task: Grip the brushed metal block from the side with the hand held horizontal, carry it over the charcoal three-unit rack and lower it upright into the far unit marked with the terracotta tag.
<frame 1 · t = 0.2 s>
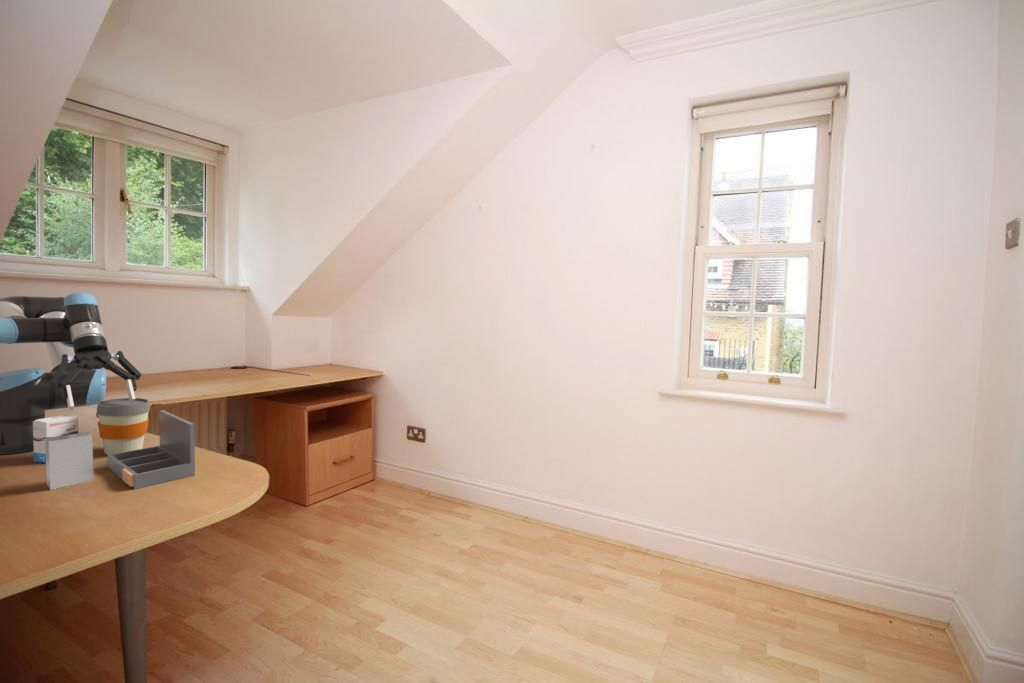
hand: (103, 404, 137), 16 cm above the table, tool tilted 35°, fingers open, 13 cm apart
reusable coffee cup: (123, 451, 145), on the table, touching gripper
ink box: (57, 459, 136), on the table
rack: (148, 471, 129), on the table
brushed metal block: (70, 483, 119), on the table
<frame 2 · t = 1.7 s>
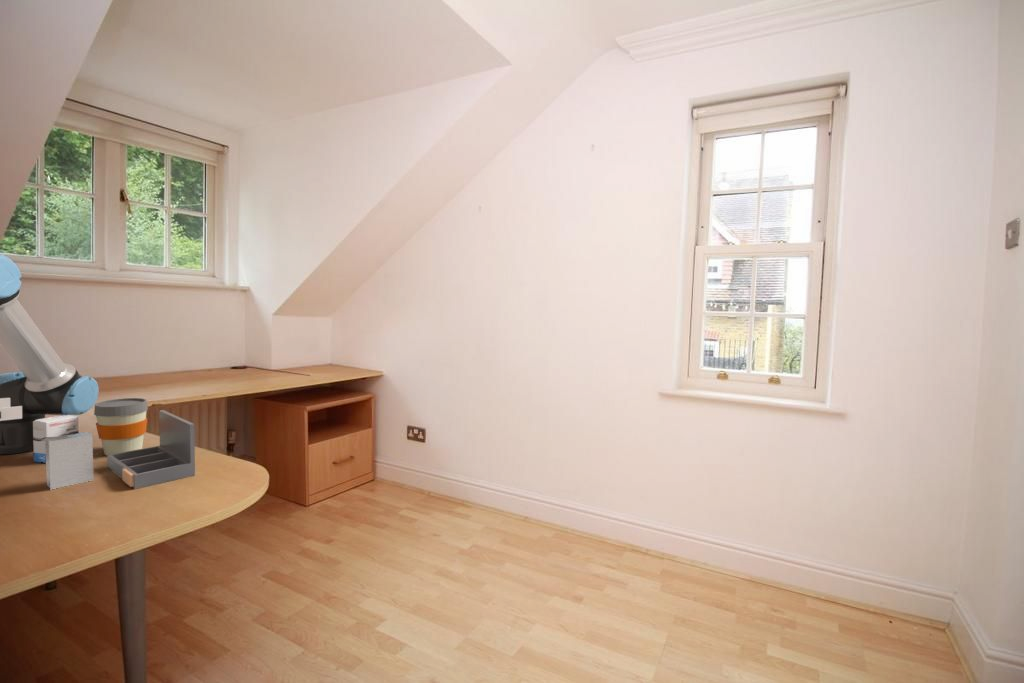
hand: (16, 407, 111), 21 cm above the table, tool horizontal, fingers open, 13 cm apart
reusable coffee cup: (123, 451, 145), on the table
everything else where it was.
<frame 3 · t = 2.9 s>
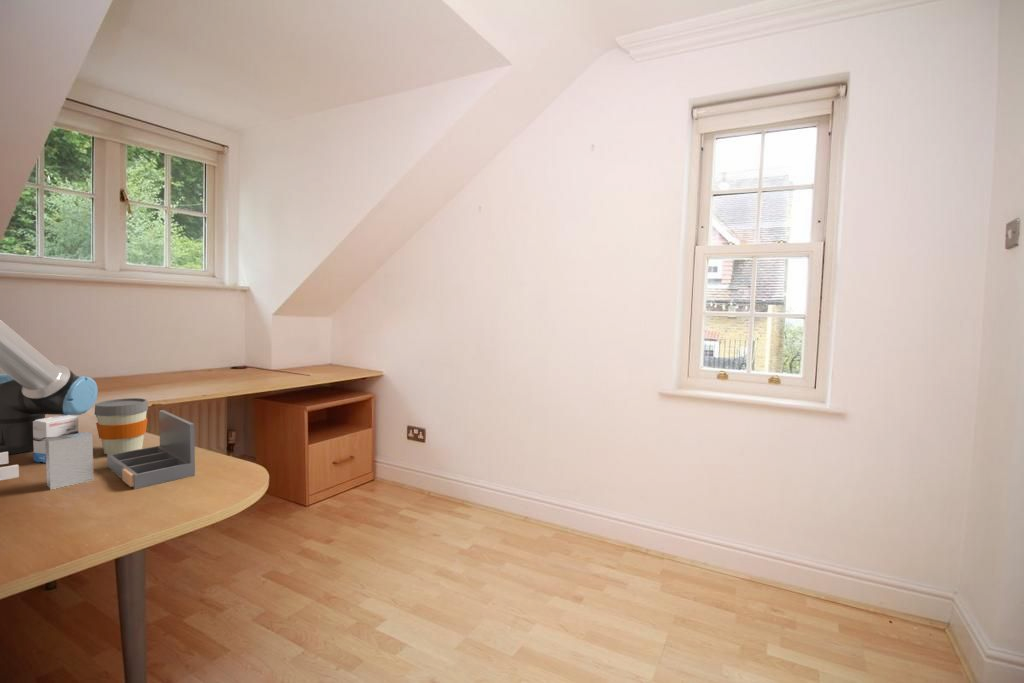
hand: (13, 463, 111), 7 cm above the table, tool horizontal, fingers open, 13 cm apart
nothing on the table moved.
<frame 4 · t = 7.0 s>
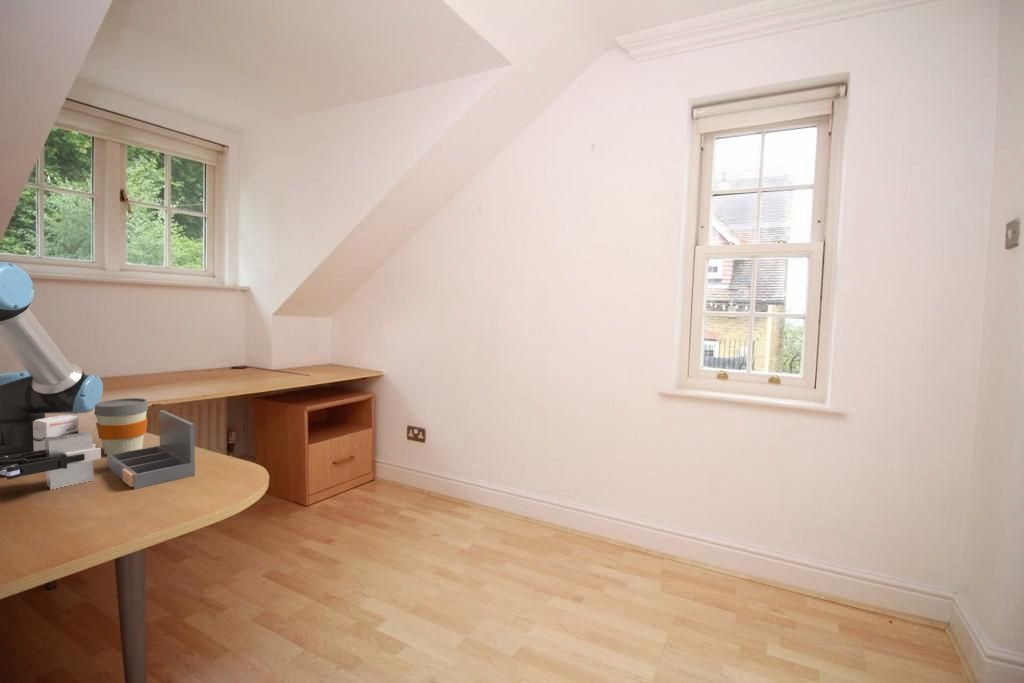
hand: (97, 451, 123), 7 cm above the table, tool horizontal, fingers closed on brushed metal block, 4 cm apart
brushed metal block: (70, 483, 119), on the table, touching gripper
everything else where it was.
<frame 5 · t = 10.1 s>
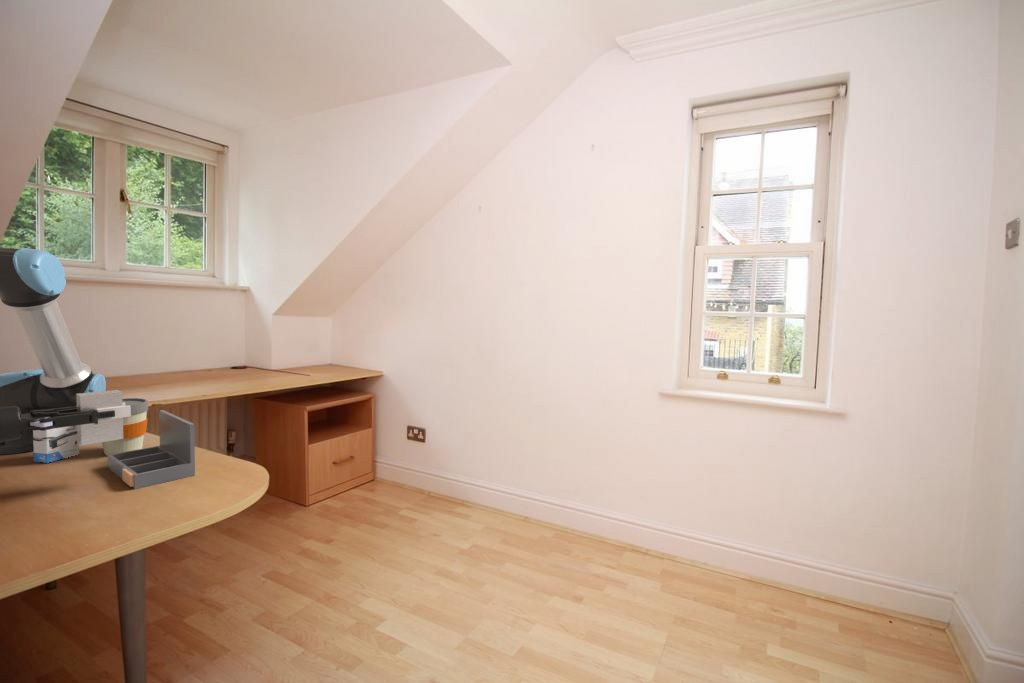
hand: (127, 409, 123), 18 cm above the table, tool horizontal, fingers closed on brushed metal block, 4 cm apart
brushed metal block: (100, 440, 119), point 11 cm above the table, touching gripper
everything else where it was.
when the fingers open (9 cm above the table, at t = 13.3 s): brushed metal block drops 1 cm, resting on rack.
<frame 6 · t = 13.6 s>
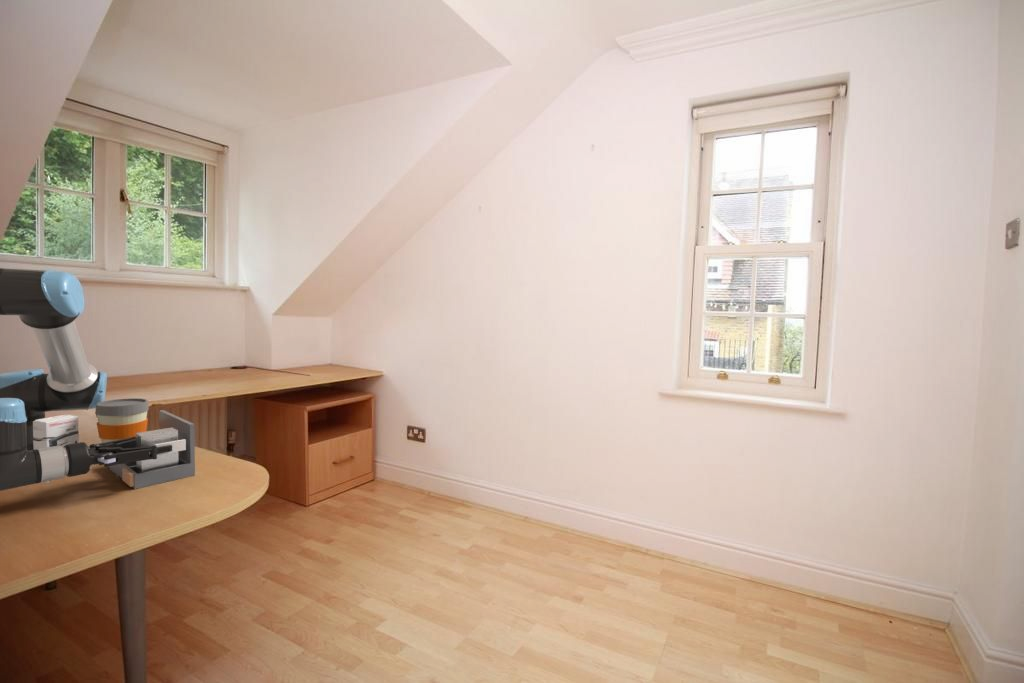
hand: (178, 441, 128), 9 cm above the table, tool horizontal, fingers open, 8 cm apart
brushed metal block: (158, 476, 125), resting on rack
everything else where it was.
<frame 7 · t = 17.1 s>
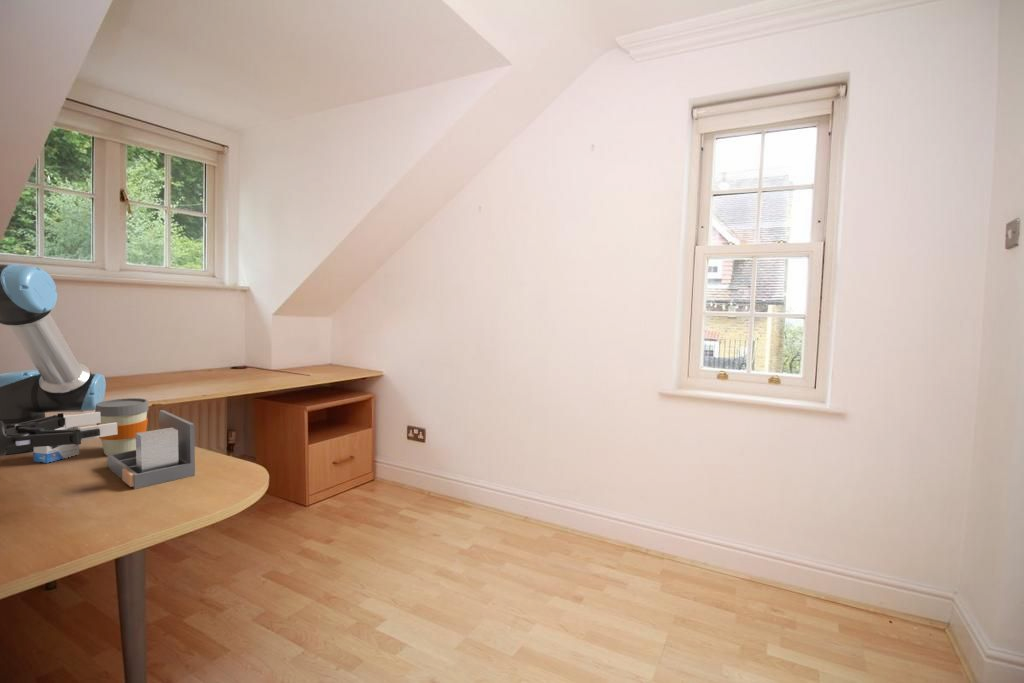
hand: (108, 422, 115), 17 cm above the table, tool horizontal, fingers open, 13 cm apart
nothing on the table moved.
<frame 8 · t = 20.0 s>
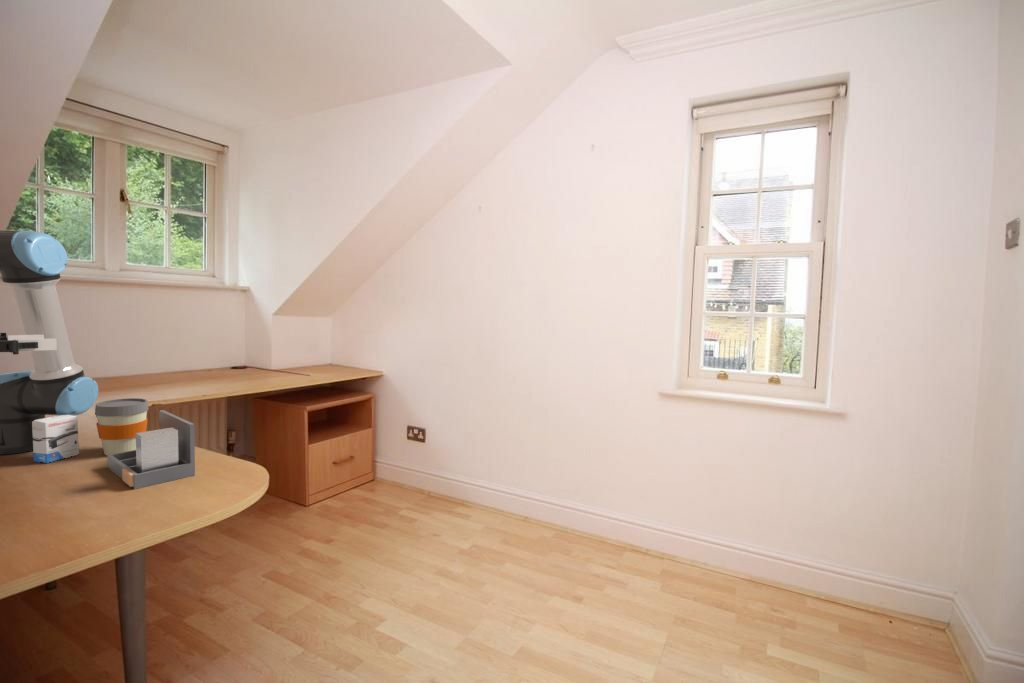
hand: (50, 342, 120), 35 cm above the table, tool horizontal, fingers open, 13 cm apart
ink box: (57, 458, 136), on the table, touching arm
everything else where it was.
at the end: brushed metal block 0.0 cm from the target spot on the rack, point 0.5 cm above the rack's base; brushed metal block tilted 0°; the gripper is holding nothing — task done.
